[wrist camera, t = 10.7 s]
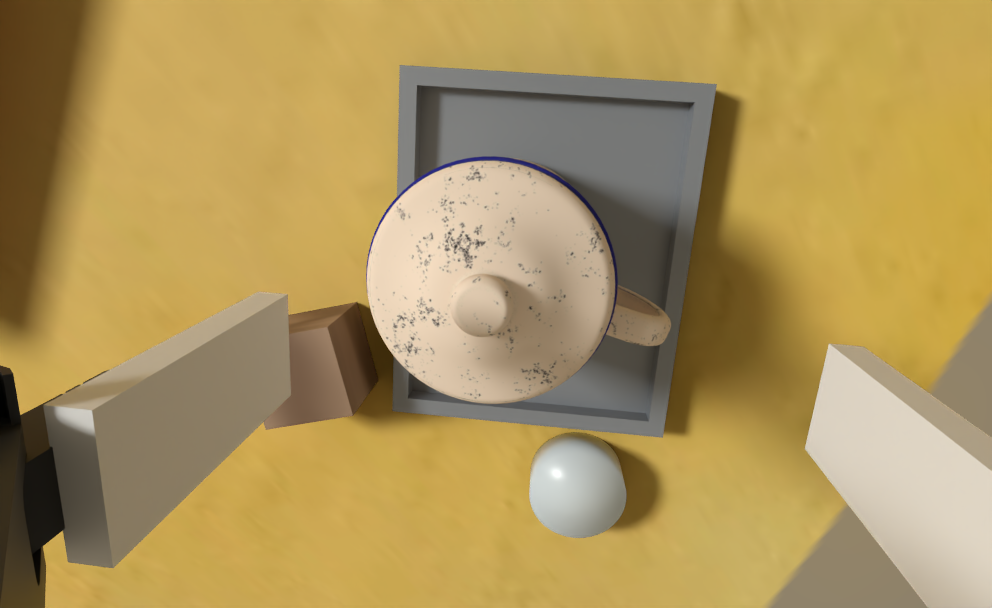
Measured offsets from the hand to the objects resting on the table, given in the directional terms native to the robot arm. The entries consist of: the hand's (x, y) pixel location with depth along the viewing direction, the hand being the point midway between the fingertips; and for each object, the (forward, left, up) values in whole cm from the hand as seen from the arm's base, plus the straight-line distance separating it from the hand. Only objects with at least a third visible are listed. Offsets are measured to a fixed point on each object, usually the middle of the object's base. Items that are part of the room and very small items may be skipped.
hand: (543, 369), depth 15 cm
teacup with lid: (+1, 0, -16) cm, 16 cm away
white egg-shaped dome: (-3, +12, -17) cm, 21 cm away
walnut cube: (+11, +6, -16) cm, 21 cm away
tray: (0, 0, -16) cm, 16 cm away
